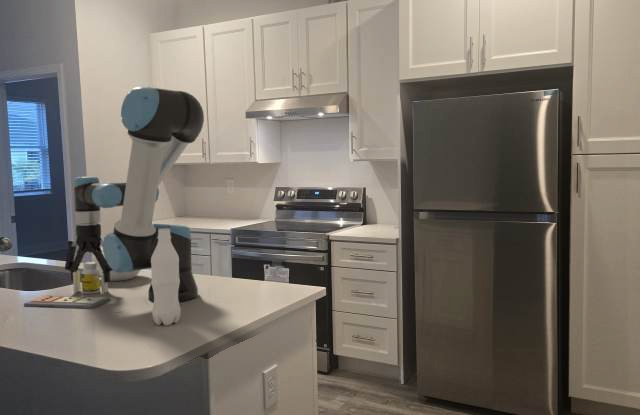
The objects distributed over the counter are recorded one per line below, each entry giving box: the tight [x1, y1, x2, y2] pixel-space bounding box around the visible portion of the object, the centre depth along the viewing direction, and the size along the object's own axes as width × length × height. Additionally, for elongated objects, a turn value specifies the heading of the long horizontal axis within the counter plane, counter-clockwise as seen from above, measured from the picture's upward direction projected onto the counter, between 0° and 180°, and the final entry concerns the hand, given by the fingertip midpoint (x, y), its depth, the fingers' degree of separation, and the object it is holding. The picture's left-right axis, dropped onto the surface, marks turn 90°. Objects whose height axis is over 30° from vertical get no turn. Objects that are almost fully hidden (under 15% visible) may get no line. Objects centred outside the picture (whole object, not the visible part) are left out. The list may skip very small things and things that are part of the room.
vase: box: [91, 246, 141, 282], centre depth 198 cm, size 18×18×19 cm
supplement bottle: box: [81, 261, 101, 295], centre depth 177 cm, size 5×5×10 cm
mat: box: [23, 295, 112, 309], centre depth 163 cm, size 22×10×1 cm, turn 82°
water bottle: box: [150, 228, 182, 326], centre depth 141 cm, size 7×7×25 cm
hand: (91, 291), depth 177 cm, fingers open, 9 cm apart
